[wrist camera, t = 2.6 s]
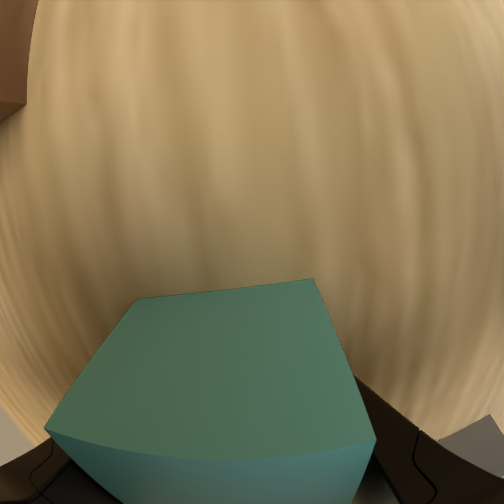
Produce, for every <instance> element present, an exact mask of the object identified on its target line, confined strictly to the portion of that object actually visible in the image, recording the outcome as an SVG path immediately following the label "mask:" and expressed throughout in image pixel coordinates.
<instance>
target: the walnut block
mask: <svg viewBox="0 0 504 504" xmlns="http://www.w3.org/2000/svg"><path fill="white" fill-rule="evenodd" d="M37 5H38V0H0V123H1V122H2V121H4V120H5V119H6V118H8V117H9V116H10V115H12V114H13V113H14V112H16V111H17V110H19V109H20V108H21V107H23V106H24V105H26V104H27V73H28V60H29V51H30V43H31V36H32V30H33V24H34V19H35V14H36V9H37Z"/></svg>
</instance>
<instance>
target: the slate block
mask: <svg viewBox="0 0 504 504" xmlns="http://www.w3.org/2000/svg"><path fill="white" fill-rule="evenodd" d="M437 442H438V443H439V444H441V445H442V446H443V447H445V448H446V449H448V450H450V451H451V452H453V453H455V454H456V455H458V456H460V457H461V458H463V459H465V460H467V461H469V462H470V463H472V464H474V465H476V466H478V467H480V468H482V469H484V470H486V471H488V472H490V473H492V474H494V475H496V476H498V477H501V478H504V435H503V434H502V432H501V430H500V429H499V427H498V426H497V424H496V423H495V421H494V420H493V418H492V417H491V415H490V414H489V415H487V416H486V417H484V418H482V419H481V420H479V421H477V422H475V423H473V424H472V425H470V426H468V427H466V428H464V429H462V430H460V431H458V432H456V433H454V434H452V435H450V436H448V437H445V438H443V439H441V440H439V441H437Z"/></svg>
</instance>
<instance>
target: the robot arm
mask: <svg viewBox="0 0 504 504" xmlns="http://www.w3.org/2000/svg"><path fill="white" fill-rule="evenodd" d="M353 376H354V375H353ZM354 379H355V381H356V384H357V387H358V389H359V392H360V395H361V397H362V400H363V403H364V405H365V408H366V411H367V414H368V417H369V419H370V422H371V425H372V428H373V431H374V434H375V436H376V442H375V445H374V448H373V451H372V454H371V457H370V459H369V462H368V465H367V467H366V470H365V472H364V475H363V477H362V480H361V482H360V484H359V487H358V489H357V491H356V494H355V496H354V498H353V500H352V502H351V504H504V478H501V477H498V476H496V475H494V474H492V473H490V472H488V471H486V470H484V469H482V468H480V467H478V466H476V465H474V464H472V463H470V462H469V461H467V460H465V459H463V458H461V457H460V456H458V455H456V454H455V453H453V452H451V451H450V450H448V449H446V448H445V447H443V446H442V445H441V444H439V443H438V442H436V441H435V440H434V439H432V438H431V437H430V436H428V435H427V434H426V433H425V432H423V431H422V430H420V431H419V428H418V427H417V426H416V425H414V424H413V423H412V422H411V421H409V420H408V419H407V418H406V417H404V416H403V415H402V414H401V413H399V412H398V411H397V410H396V409H394V408H393V407H392V406H391V405H389V404H388V403H387V402H386V401H385V400H383V399H382V398H381V397H380V396H379V395H377V394H376V393H375V392H374V391H372V390H371V389H370V388H369V387H368V386H366V385H365V384H364V383H363V382H362V381H360V380H359V379H358V378H357V377H356V376H354ZM0 504H124V503H122V502H121V501H120V500H118V499H117V498H116V497H115V496H113V495H112V494H111V493H109V492H108V491H107V490H106V489H105V488H103V487H102V486H101V485H100V484H99V483H97V482H96V481H95V480H94V479H93V478H92V477H91V476H89V475H88V474H87V473H86V472H85V471H84V470H83V469H82V468H81V467H80V466H79V465H78V464H77V463H76V462H75V461H74V460H73V459H72V458H71V457H70V456H69V455H68V454H67V453H66V452H65V451H64V450H63V449H62V448H61V447H60V446H59V445H58V444H57V443H56V442H55V440H54V439H53V438H52V437H50V438H49V439H47V440H46V441H44V442H43V443H41V444H40V445H38V446H37V447H35V448H34V449H32V450H30V451H29V452H27V453H25V454H23V455H21V456H20V457H18V458H16V459H14V460H12V461H10V462H8V463H6V464H4V465H2V466H0Z"/></svg>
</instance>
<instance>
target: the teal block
mask: <svg viewBox="0 0 504 504" xmlns="http://www.w3.org/2000/svg"><path fill="white" fill-rule="evenodd" d="M44 429H45V430H46V431H47V432H48V434H49V435H50V436H51V437H52V438H53V439H54V440H55V442H56V443H57V444H58V445H59V446H60V447H61V448H62V449H63V450H64V451H65V452H66V453H67V454H68V455H69V456H70V457H71V458H72V459H73V460H74V461H75V462H76V463H77V464H78V465H79V466H80V467H81V468H82V469H83V470H84V471H85V472H86V473H87V474H88V475H89V476H91V477H92V478H93V479H94V480H95V481H96V482H97V483H99V484H100V485H101V486H102V487H103V488H105V489H106V490H107V491H108V492H109V493H111V494H112V495H113V496H115V497H116V498H117V499H118V500H120V501H121V502H122V503H124V504H351V502H352V500H353V498H354V496H355V494H356V491H357V489H358V487H359V484H360V482H361V480H362V477H363V475H364V472H365V470H366V467H367V465H368V462H369V459H370V457H371V454H372V451H373V448H374V445H375V442H376V436H375V434H374V431H373V428H372V425H371V422H370V419H369V417H368V414H367V411H366V408H365V405H364V403H363V400H362V397H361V395H360V392H359V389H358V387H357V384H356V381H355V379H354V376H353V374H352V371H351V368H350V366H349V363H348V361H347V358H346V356H345V353H344V351H343V348H342V346H341V343H340V341H339V338H338V336H337V333H336V331H335V329H334V326H333V324H332V321H331V319H330V317H329V314H328V312H327V309H326V307H325V305H324V302H323V300H322V298H321V295H320V293H319V291H318V289H317V286H316V284H315V282H314V279H313V278H312V279H305V280H298V281H291V282H284V283H276V284H269V285H261V286H253V287H245V288H237V289H229V290H220V291H212V292H203V293H193V294H184V295H174V296H164V297H153V298H142V299H137V300H136V301H135V302H134V304H133V305H132V306H131V307H130V308H129V310H128V311H127V312H126V314H125V315H124V316H123V317H122V319H121V320H120V321H119V322H118V324H117V325H116V326H115V328H114V329H113V330H112V331H111V333H110V334H109V335H108V337H107V338H106V339H105V341H104V342H103V343H102V345H101V346H100V347H99V349H98V350H97V351H96V353H95V354H94V355H93V357H92V358H91V359H90V361H89V362H88V364H87V365H86V366H85V368H84V369H83V370H82V372H81V373H80V375H79V376H78V377H77V379H76V380H75V382H74V383H73V385H72V386H71V387H70V389H69V390H68V392H67V393H66V395H65V396H64V398H63V399H62V401H61V402H60V403H59V405H58V406H57V408H56V409H55V411H54V413H53V414H52V416H51V417H50V419H49V420H48V422H47V423H46V425H45V426H44Z"/></svg>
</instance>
